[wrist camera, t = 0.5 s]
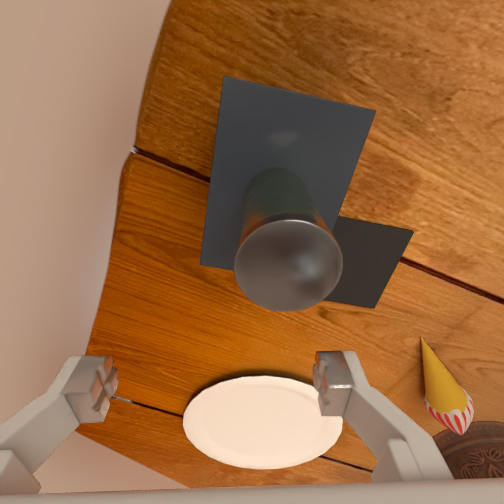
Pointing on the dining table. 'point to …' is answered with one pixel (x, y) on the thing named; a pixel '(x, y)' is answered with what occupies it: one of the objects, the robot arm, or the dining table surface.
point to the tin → (285, 245)
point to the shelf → (277, 155)
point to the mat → (366, 259)
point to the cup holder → (474, 450)
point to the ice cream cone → (445, 394)
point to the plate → (260, 422)
